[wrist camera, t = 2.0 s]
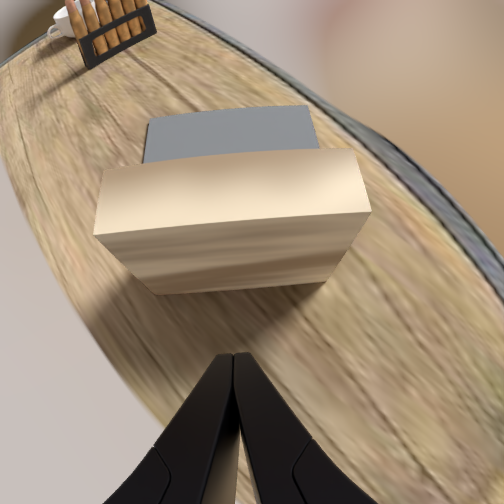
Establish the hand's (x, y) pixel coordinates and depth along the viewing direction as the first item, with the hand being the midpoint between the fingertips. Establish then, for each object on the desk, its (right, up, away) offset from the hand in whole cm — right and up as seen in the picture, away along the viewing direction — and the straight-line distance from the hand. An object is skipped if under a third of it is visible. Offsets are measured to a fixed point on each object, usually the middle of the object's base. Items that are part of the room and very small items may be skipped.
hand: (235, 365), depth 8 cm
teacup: (-28, +39, +30) cm, 57 cm away
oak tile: (0, +2, +15) cm, 15 cm away
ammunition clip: (-17, +30, +27) cm, 44 cm away
